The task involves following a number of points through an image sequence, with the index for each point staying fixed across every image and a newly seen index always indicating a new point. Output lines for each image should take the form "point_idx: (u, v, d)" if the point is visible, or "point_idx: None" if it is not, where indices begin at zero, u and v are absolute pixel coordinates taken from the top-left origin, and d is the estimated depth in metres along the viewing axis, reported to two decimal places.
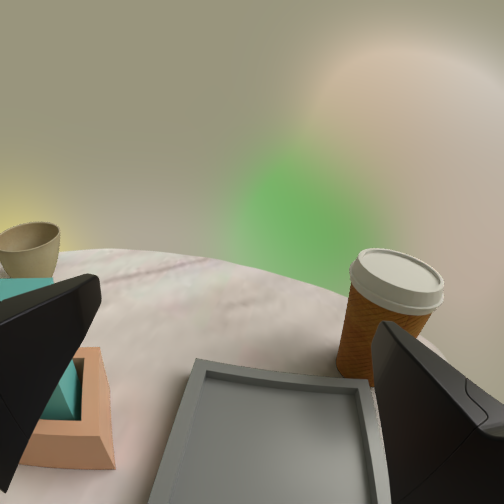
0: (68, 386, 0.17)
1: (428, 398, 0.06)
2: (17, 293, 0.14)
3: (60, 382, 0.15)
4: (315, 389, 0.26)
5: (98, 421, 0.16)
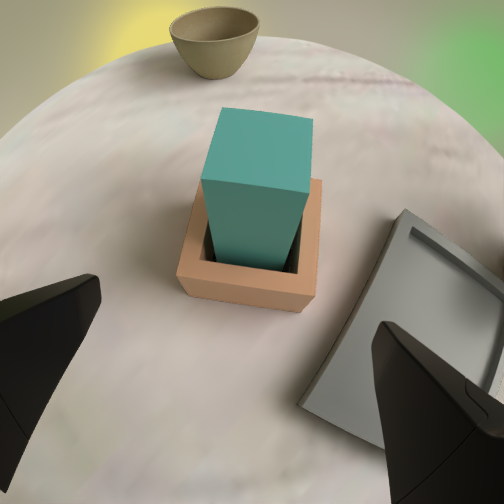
0: None
1: (428, 398, 0.06)
2: (267, 138, 0.13)
3: None
4: (486, 285, 0.23)
5: (315, 277, 0.19)
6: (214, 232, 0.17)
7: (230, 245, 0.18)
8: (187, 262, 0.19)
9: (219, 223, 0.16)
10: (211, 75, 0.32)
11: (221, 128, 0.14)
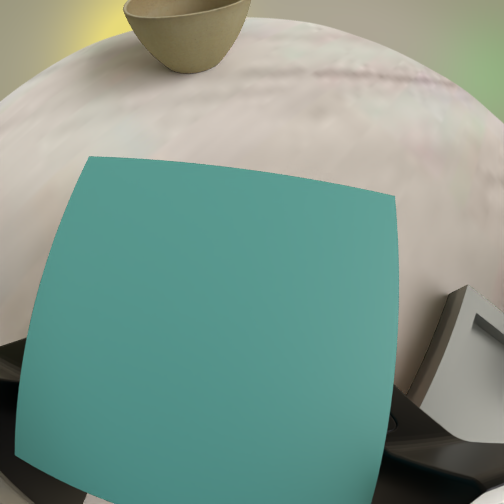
0: None
1: None
2: (222, 307, 0.03)
3: None
4: None
5: None
6: None
7: None
8: None
9: None
10: (183, 67, 0.21)
11: (67, 249, 0.04)
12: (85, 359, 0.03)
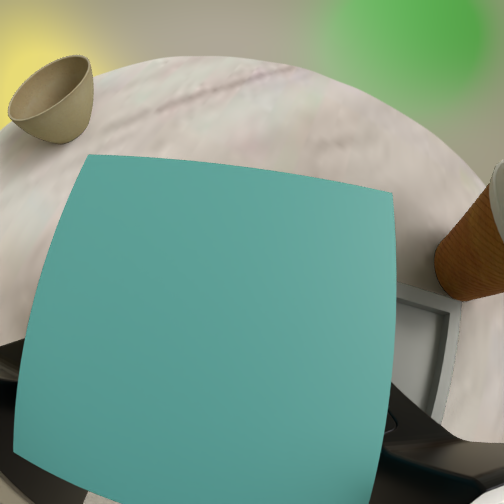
0: None
1: None
2: (220, 303, 0.03)
3: None
4: (408, 303, 0.22)
5: None
6: None
7: None
8: None
9: None
10: (61, 140, 0.27)
11: (66, 246, 0.04)
12: (83, 355, 0.03)
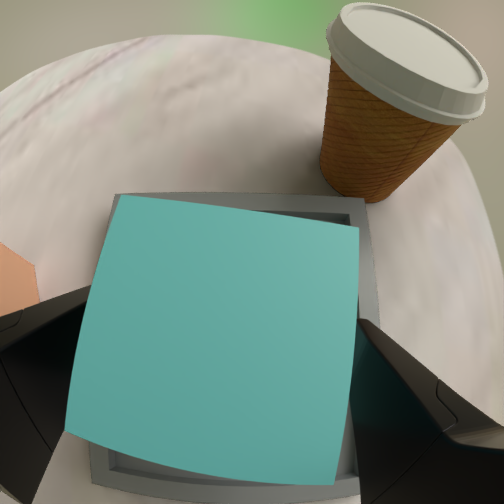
0: None
1: (395, 399, 0.06)
2: (229, 312, 0.05)
3: None
4: (285, 215, 0.19)
5: None
6: None
7: None
8: None
9: None
10: None
11: (110, 270, 0.05)
12: (128, 351, 0.04)
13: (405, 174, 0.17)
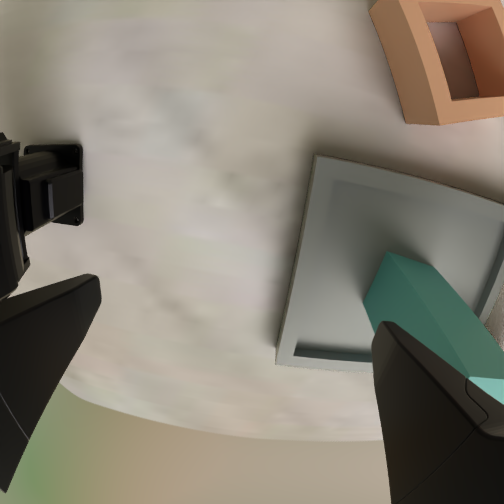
0: None
1: (428, 398, 0.06)
2: None
3: None
4: None
5: (455, 121, 0.13)
6: (426, 313, 0.14)
7: (410, 310, 0.15)
8: None
9: (431, 331, 0.13)
10: None
11: None
12: None
13: None
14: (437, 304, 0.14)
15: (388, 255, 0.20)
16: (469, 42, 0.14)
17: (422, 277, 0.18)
